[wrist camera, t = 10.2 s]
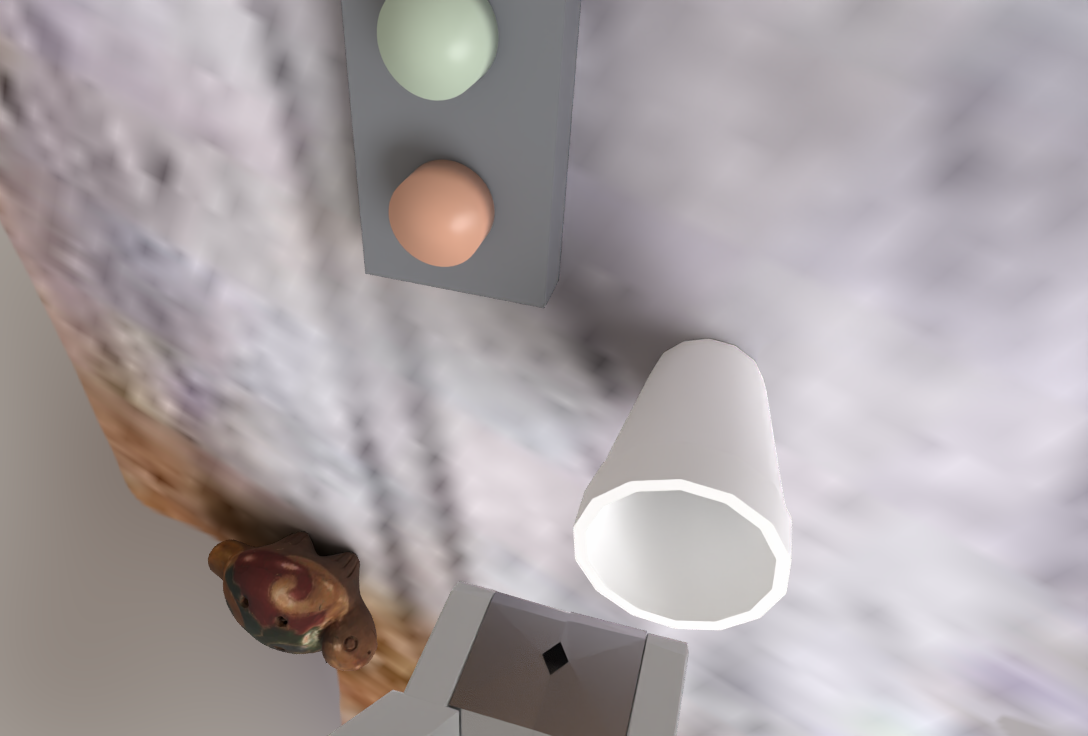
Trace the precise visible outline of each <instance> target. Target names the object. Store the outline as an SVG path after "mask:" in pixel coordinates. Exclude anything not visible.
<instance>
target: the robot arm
mask: <svg viewBox="0 0 1088 736" xmlns="http://www.w3.org/2000/svg"><path fill="white" fill-rule="evenodd" d="M646 634H647V631H645V630H641V629H637V628H633V627H629V626H625V625H621V624H617V623H614V622H610V621H606V620H602V619H598V618H594V617H590V616H586V615H582V614H578V613H574V612H566V611H563V610H559V609H556V608H552V607H549V606H546V605H542V604H539V603H535V602H532V601H528V600H525V599H521V598H518V597H514V596H511V595H507V594H504V593H500V592H497V591H495V590H491V589H488V588H484V587H480V586H477V585H473V584H469V583H466V582H462V581H459V582H458V583H457V584H456V586H455V587H454V588H453V590H452V591H451V592H450V594H449V597H448V599H447V601H446V603H445V605H444V607H443V609H442V612H441V614H440V616H439V618H438V620H437V622H436V625H435V627H434V629H433V631H432V633H431V635H430V637H429V640H428V642H427V644H426V646H425V648H424V650H423V653H422V655H421V657H420V659H419V661H418V663H417V665H416V668H415V670H414V672H413V674H412V676H411V678H410V680H409V683H408V685H407V687H406V689H405V691H404V693H402V692H398V691H394V690H392V691H391V692H389V693H388V694H386V695H385V696H383V697H382V698H381V699H379V700H378V701H376V702H375V703H373V704H372V705H371V706H369V707H368V708H366V709H365V710H363V711H362V712H361V713H359V714H358V715H356V716H355V717H354V718H352V719H351V720H349V721H348V722H346V723H345V724H344V725H342V726H341V727H339V728H338V729H336V730H335V731H334V732H332V733H331V734H329V735H328V736H676V735H677V728H678V721H679V714H680V708H681V701H682V694H683V688H684V681H685V674H686V667H687V661H688V654H689V651H688V643H686V642H682V641H678V640H674V639H670V638H666V637H662V636H658V635H654V634H650V633H648V634H647V636H646Z"/></svg>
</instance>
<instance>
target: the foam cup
mask: <svg viewBox="0 0 1088 736" xmlns="http://www.w3.org/2000/svg"><path fill="white" fill-rule="evenodd" d="M573 531H574V546H575V560H576V561H577V563H578V564H579V566H580V567H581V569H582V570H583V572H584V573H585V575H586V576H587V578H588V579H589V581H590V582H591V584H592V585H593V586H594V588H595V589H596V591H598V592H599V593H601V594H602V595H603V596H605V597H606V598H608V599H609V600H611V601H612V602H614V603H615V604H617V605H618V606H619V607H621V608H622V609H624V610H625V611H627V612H628V613H630V614H631V615H634V616H637V617H640V618H643V619H646V620H649V621H652V622H656V623H659V624H662V625H665V626H668V627H671V628H674V629H699V630H723V629H726V628H729V627H733V626H736V625H739V624H742V623H746V622H749V621H752V620H756V619H759V618H761V617H762V616H763V615H764V614H765V613H766V612H767V611H768V610H769V609H770V608H771V607H772V606H773V605H774V604H775V603H777V602H778V601H779V600H780V599H781V598H782V597H783V596H784V595H785V594H786V591H787V585H788V579H789V573H790V566H791V560H792V518H791V516H790V514H789V512H788V510H787V508H786V506H785V501H784V495H783V489H782V483H781V477H780V471H779V465H778V458H777V452H776V446H775V440H774V434H773V428H772V422H771V416H770V410H769V404H768V398H767V392H766V387H765V385H764V379H763V377H762V375H761V373H760V371H759V368H758V366H757V364H756V362H755V361H754V360H753V359H752V358H751V357H749V356H748V355H747V354H745V353H744V352H743V351H742V350H740V349H739V348H738V347H736V346H735V345H731V344H728V343H724V342H720V341H717V340H713V339H700V340H691V341H683V342H682V343H680V344H678V345H676V346H674V347H673V348H671V349H669V350H667V351H666V352H664V353H663V354H662V356H661V357H660V359H659V360H658V362H657V364H656V365H655V367H654V368H653V370H652V372H651V374H650V375H649V377H648V379H647V381H646V383H645V385H644V387H643V388H642V390H641V392H640V394H639V396H638V398H637V400H636V402H635V404H634V406H633V408H632V410H631V412H630V414H629V416H628V417H627V419H626V421H625V423H624V425H623V427H622V429H621V431H620V433H619V435H618V437H617V439H616V441H615V443H614V445H613V446H612V448H611V450H610V452H609V454H608V456H607V458H606V460H605V462H603V464H602V465H601V467H600V468H599V470H598V471H597V473H596V474H595V476H594V477H593V479H592V481H591V482H590V484H589V485H588V487H587V488H586V490H585V492H584V495H583V498H582V501H581V504H580V508H579V511H578V514H577V517H576V520H575V523H574V526H573Z"/></svg>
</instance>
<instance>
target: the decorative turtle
mask: <svg viewBox="0 0 1088 736" xmlns="http://www.w3.org/2000/svg"><path fill="white" fill-rule="evenodd" d="M208 564H209V567H210V570H212V571H213V572H214V573H215V574H216V575H217V576H219V577H220V578H221V579H222V580H223V591H224V595H225V599H226V602H227V605H228V607H229V609H230V611H231V613H232V614H233V616H234V617H235V619H236V620H237V622H238V623H239V624H240V625H241V626H242V627H243V628H244V629H245V630H246V631H247V632H248V633H250V634H251V635H252V636H253V637H254V638H255V639H256V640H258V641H259V642H261V643H262V644H264V645H266V646H269V647H270V648H273V649H276V650H279V651H282V652H287V653H292V654H306V653H315V652H319V651H322V653H323V656H324V658H325V661H326V663H329V665H330V666H332V667H334V668H336V669H339V670H343V671H354V670H357V669H360V668H362V667H363V666H364V665H366V664H367V663H368V662H369V661H370V660H371V659H372V657H373V655H374V653H375V651H376V649H377V635H376V629H375V625H374V621H373V618H372V616H371V614H370V612H369V610H368V608H367V607H366V605H365V603H364V602H363V600H362V597H361V595H360V590H359V567H360V561H359V559H358V557H357V555H356V554H354V553H351V552H345V553H339V554H335V555H331V556H319V555H317V553H316V551H315V549H314V546H313V543H312V540H311V538H310V536H309V535H308V534H307V533H306V532H297V533H294V534H291V535H289V536H287V537H285V538H283V539H281V540H279V541H278V542H276V543H274V544H270V545H265V546H261V547H257V548H255V547H252V546H250V545H247V544H244V543H242V542H239V541H236V540H226V541H223V542H221V543H219V544H217V545H216V546H215V547H214V548H213V549H212V551H211V553H210V554H209V557H208Z"/></svg>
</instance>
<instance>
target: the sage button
mask: <svg viewBox="0 0 1088 736" xmlns="http://www.w3.org/2000/svg"><path fill="white" fill-rule="evenodd" d="M498 40H499V37H498V26H497V21H496V17H495V14H494V12H493V9H492V7H491V5H490V3H489V2H488V0H385V2H384V4H383V6H382V8H381V11H380V13H379V17H378V22H377V41H378V47H379V51H380V54H381V57H382V59H383V61H384V64H385V66H386V67H387V69H388V71H389V72H390V74H391V75H392V76H393V77H394V79H395V80H396V81H397V82H398V83H399V84H400V85H401V86H402V87H404V88H405V89H406V90H408V91H409V92H411V93H412V94H414V95H416V96H419V97H421V98H424V99H428V100H436V101H439V100H447V99H451V98H454V97H457V96H458V95H460V94H462V93H463V92H465V91H466V90H467V89H468V88H469V87H471V86H472V85H473V84H474V83H475V82H476V81H478V80H479V79H480V78H481V77H482V76H483V75H484V74H485V73H486V72H487V71H488V70H489V68H490V67H491V65H492V63H493V61H494V59H495V56H496V53H497V48H498Z"/></svg>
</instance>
